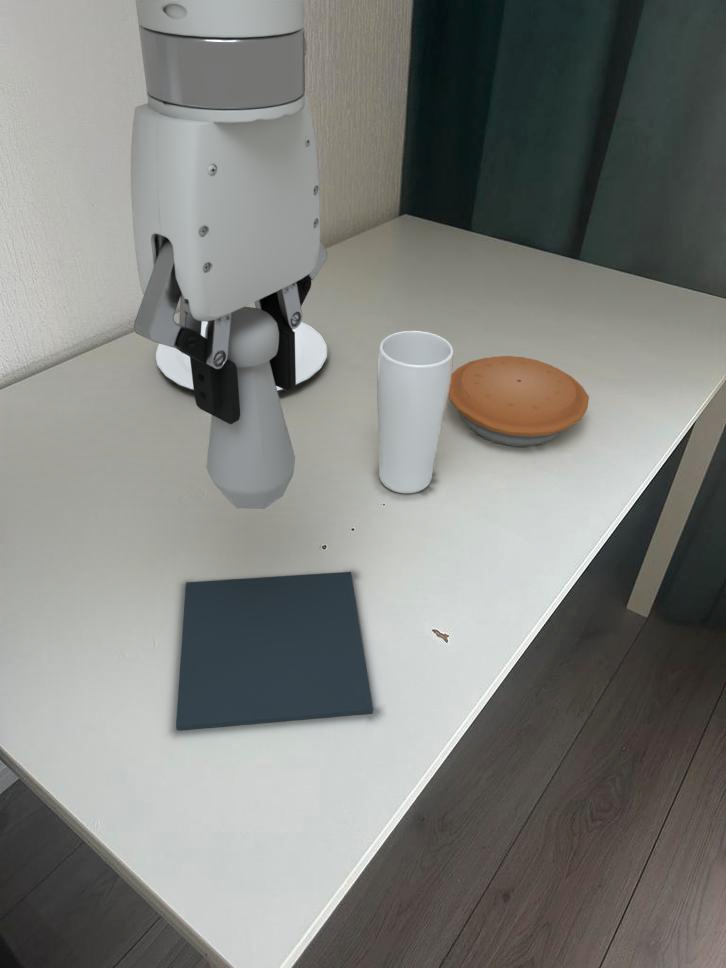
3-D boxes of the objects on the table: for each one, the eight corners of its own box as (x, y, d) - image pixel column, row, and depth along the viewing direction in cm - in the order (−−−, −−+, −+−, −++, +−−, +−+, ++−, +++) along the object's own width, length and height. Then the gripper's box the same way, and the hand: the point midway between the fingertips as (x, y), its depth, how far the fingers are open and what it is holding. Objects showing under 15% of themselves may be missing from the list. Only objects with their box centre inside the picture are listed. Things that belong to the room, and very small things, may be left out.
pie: (463, 371, 95) (468, 335, 92) (590, 400, 91) (600, 363, 88) (426, 438, 84) (430, 399, 81) (569, 474, 80) (579, 434, 77)
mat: (176, 730, 55) (175, 725, 54) (186, 587, 65) (185, 582, 65) (372, 713, 56) (372, 708, 56) (350, 576, 67) (350, 571, 67)
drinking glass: (357, 479, 78) (362, 346, 68) (401, 451, 82) (411, 322, 72) (408, 510, 74) (421, 375, 65) (451, 479, 78) (470, 348, 69)
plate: (180, 421, 84) (178, 408, 83) (140, 336, 99) (138, 324, 98) (354, 386, 92) (354, 373, 90) (293, 311, 106) (293, 299, 105)
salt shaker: (292, 520, 50) (286, 342, 42) (204, 518, 50) (181, 339, 42) (298, 466, 55) (294, 296, 47) (217, 464, 55) (199, 293, 47)
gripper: (285, 38, 44) (291, 331, 55) (21, 83, 33) (97, 434, 44) (392, 59, 40) (376, 366, 52) (137, 116, 30) (187, 487, 41)
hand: (246, 394), depth 48 cm, fingers closed on salt shaker, 4 cm apart
